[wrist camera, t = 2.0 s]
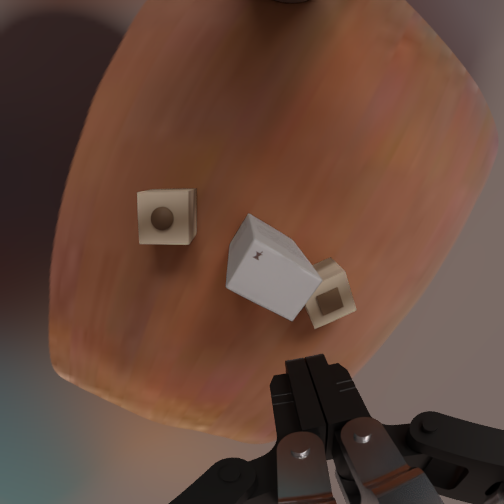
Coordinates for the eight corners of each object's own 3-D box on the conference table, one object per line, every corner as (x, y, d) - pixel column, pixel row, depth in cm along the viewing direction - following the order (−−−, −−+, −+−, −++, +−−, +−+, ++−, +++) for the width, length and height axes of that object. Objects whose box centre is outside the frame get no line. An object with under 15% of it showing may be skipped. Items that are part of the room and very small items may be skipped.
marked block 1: (152, 189, 29) (136, 192, 24) (196, 188, 29) (187, 191, 24) (153, 233, 30) (138, 244, 25) (196, 233, 31) (188, 245, 26)
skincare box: (228, 245, 31) (222, 287, 20) (248, 212, 30) (253, 235, 19) (274, 271, 32) (292, 324, 21) (294, 240, 31) (325, 278, 20)
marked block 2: (291, 273, 32) (300, 291, 27) (330, 257, 32) (345, 271, 27) (305, 308, 34) (315, 330, 29) (341, 292, 33) (357, 311, 28)
